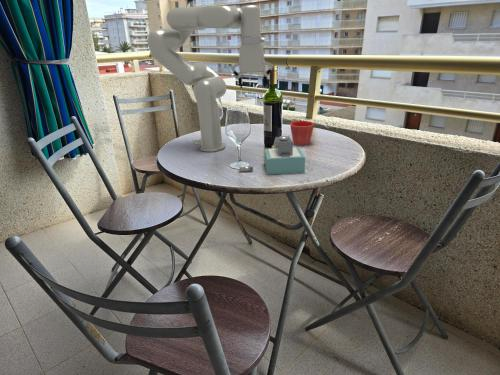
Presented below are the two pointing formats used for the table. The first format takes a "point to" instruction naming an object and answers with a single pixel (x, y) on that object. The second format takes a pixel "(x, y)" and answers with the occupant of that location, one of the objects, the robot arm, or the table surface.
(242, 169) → the bolt
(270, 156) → the stand
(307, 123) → the flower pot
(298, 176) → the table surface
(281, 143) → the block
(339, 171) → the table surface
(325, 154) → the table surface
